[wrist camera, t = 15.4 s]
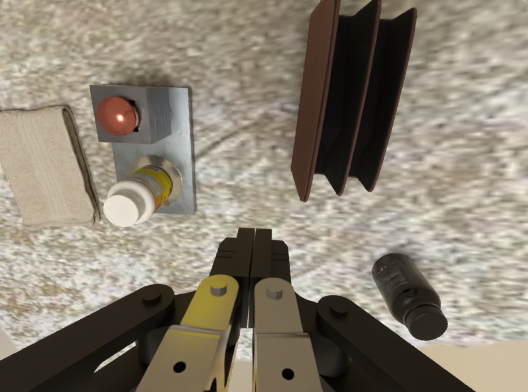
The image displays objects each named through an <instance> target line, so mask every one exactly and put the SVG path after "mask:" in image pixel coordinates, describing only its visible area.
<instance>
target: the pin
mask: <svg viewBox="0 0 528 392" xmlns="http://www.w3.org/2000/svg"><path fill="white" fill-rule="evenodd" d="M96 116H97V120H98V122H99V124H100V126H101V127H102V128H103V129H104V130H105V131H106V132H107V133H109V134H111V135H114V136H124V135H127V134H130V133H132V132H133V131H134V130H135V129H136V127H137V125H138V120H139V119H138V113H137V110H136V105H135V101H128V100H127V99H125V98H122V97H108V98H105V99H103V100H102V101H101V102H100V103H99V104H98V106H97V110H96Z"/></svg>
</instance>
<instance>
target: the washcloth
mask: <svg viewBox="0 0 528 392" xmlns="http://www.w3.org/2000/svg"><path fill="white" fill-rule="evenodd" d="M0 162H1V164H2V168H3V171H4V172H5V174H6V177H7V180H8V182H9V186H10V187H11V190H12V192H13V193H14V197H15V199H16V202H17V203H18V208H19V211H20V214H21V215H22V217H23V218H22V219H23V221H24V222H25V223H26V224H27V225H31V226H33V227H35V228H39V229H40V228H42V227H46V226H80V225H93V224H94V222H99V221H100V215H99V205H98V201H97V195H96V191H95V187H94V184H93V181H92V177H91V174H90V170H89V167H88V163H87V160H86V157H85V153H84V150H83V147H82V144H81V141H80V137H79V133H78V129H77V126H76V123H75V119H74V116H73V114H72V112H71V110H70V109H69V108H68V107H67V106H59V105H58V106H53V107H46V108H43V109H39V110H36V111H23V110H5V111H1V112H0Z"/></svg>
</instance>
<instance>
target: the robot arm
mask: <svg viewBox="0 0 528 392" xmlns="http://www.w3.org/2000/svg"><path fill="white" fill-rule="evenodd" d="M254 241H255V242H254ZM248 311H249V325H248V328H253V336H252V337H253V338H252V392H322V391H323V392H475V391H474V390H472V389H471V388H470V387H468V386H467V385H465V384H464V383H463V382H462V381H460V380H459V379H458V378H456V377H455V376H453V375H452V374H451V373H449V372H448V371H447V370H445V369H444V368H442V367H441V366H440V365H438V364H437V363H436V362H434V361H433V360H432V359H430V358H429V357H427V356H426V355H425V354H423V353H422V352H421V351H419V350H418V349H417V348H415V347H414V346H412V345H411V344H410V343H408V342H407V341H406V340H404V339H403V338H401V337H400V336H399V335H397V334H396V333H395V332H393V331H392V330H391V329H389V328H388V327H386V326H385V325H384V324H382V323H381V322H380V321H378V320H377V319H375V318H374V317H373V316H371V315H370V314H369V313H367V312H366V311H365V310H363V309H362V308H360V307H359V306H358V305H356V304H355V303H354V302H352V301H351V300H349V299H347V298H345V297H342V296H337V295H328V296H325V297H323V298H321V299H320V300H319V302H318V303H316V302H313V301H310V300H307V299H304V298H302V297H301V296H299V295H298V294H297V293H296V292H295V291H294V288H293V286H292V285H291V276H290V264H289V253H288V246H287V245H286V244H285V243H284V241H281V240H272V229H259V228H256V234H255V228H241V227H239V230H238V234H237V238H229V237H227V238H225V239H224V240H223V241H222V242H221V243H220V245H219V248H218V252H217V254H216V257H215V260H214V263H213V266H212V269H211V272H210V275H209V277H207V278H205V279H204V280H203V281H202V282H201V283H200V284H199V286H198V288H197V290H195V291H193V292H189V293H184V294H178V295H174V291H173V289H172V288H171V287H169V286H167V285H163V284H152V285H148V286H145V287H143V288H140V289H139V290H137V291H135V292H133V293H131V294H129V295H127V296H125V297H123V298H121V299H119V300H117V301H115V302H113V303H111V304H109V305H107V306H105V307H104V308H102V309H100V310H98V311H96V312H94V313H92V314H90V315H88V316H86V317H84V318H82V319H80V320H78V321H76V322H74V323H72V324H70V325H69V326H67V327H65V328H63V329H61V330H59V331H57V332H55V333H53V334H51V335H49V336H47V337H45V338H43V339H41V340H39V341H37V342H35V343H34V344H32V345H30V346H28V347H26V348H24V349H22V350H20V351H18V352H16V353H14V354H12V355H10V356H8V357H6V358H4V359H3V360H0V392H227V391H228V387H229V382H230V378H231V373H232V369H233V364H234V360H235V356H236V351H237V346H238V339H239V336H240V328H247V320H248ZM134 341H135V343H136V346H134V347H133V348H131V349H130V350H128V351H127V352H125V353H124V354H122V355H121V356H119V357H118V358H116V359H115V360H113V361H112V362H110V363H109V364H107V365H106V366H104V367H102V368H101V369H99V370H98V371H96V372H95V370H96V369H97V367H98V366H99V365H100V364H101V363H102V362H104V361H105V360H107V359H108V358H110V357H111V356H113V355H114V354H116V353H117V352H119V351H121V350H122V349H124V348H125V347H127V346H128V345H130V344H131V343H133V342H134ZM94 372H95V373H94Z"/></svg>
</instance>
